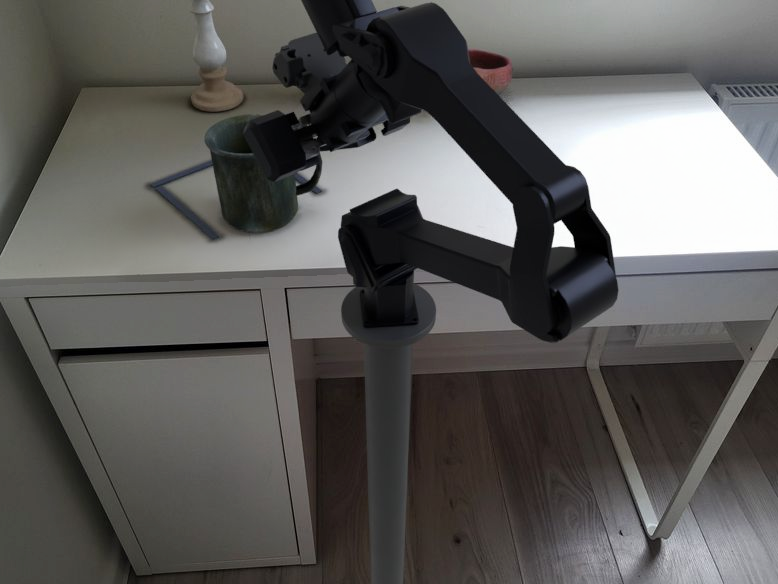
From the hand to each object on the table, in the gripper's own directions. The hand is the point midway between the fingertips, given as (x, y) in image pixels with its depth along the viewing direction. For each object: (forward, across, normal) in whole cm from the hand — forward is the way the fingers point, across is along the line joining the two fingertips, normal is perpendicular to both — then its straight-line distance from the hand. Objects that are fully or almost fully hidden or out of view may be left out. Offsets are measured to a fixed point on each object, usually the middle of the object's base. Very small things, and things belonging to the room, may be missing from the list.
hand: (303, 152), depth 83 cm
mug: (+17, 0, +3) cm, 17 cm away
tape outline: (+22, 0, -3) cm, 22 cm away
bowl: (+21, -46, -1) cm, 51 cm away
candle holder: (+41, -12, -22) cm, 48 cm away
